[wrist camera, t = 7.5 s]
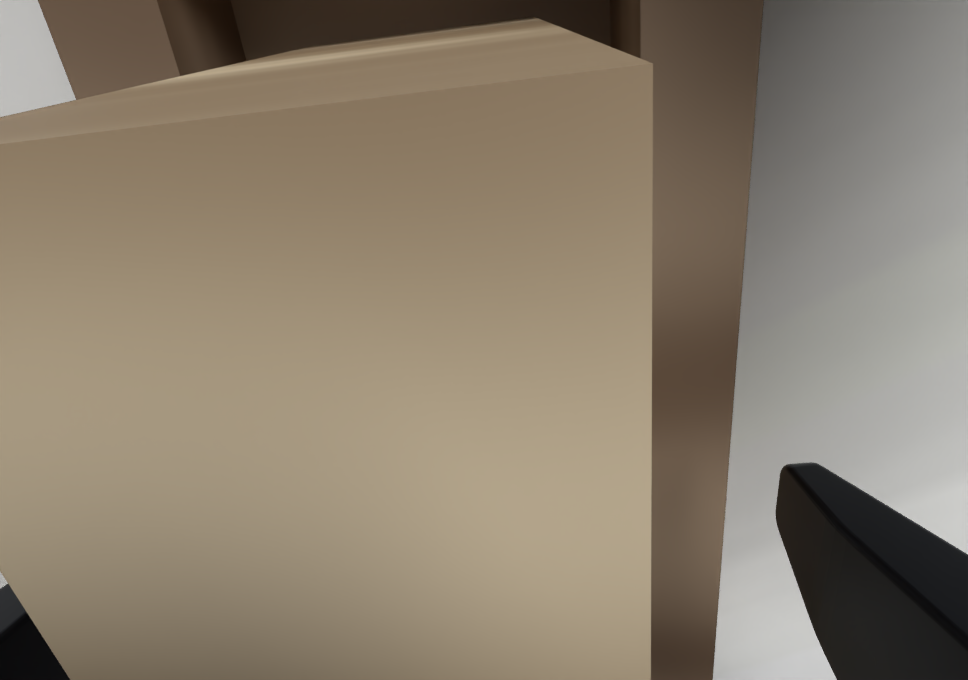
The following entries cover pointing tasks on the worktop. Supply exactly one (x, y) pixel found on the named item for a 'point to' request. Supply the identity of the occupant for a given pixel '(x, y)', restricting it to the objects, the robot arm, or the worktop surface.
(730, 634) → the worktop surface
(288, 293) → the tan box
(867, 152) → the worktop surface
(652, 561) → the walnut ledge
